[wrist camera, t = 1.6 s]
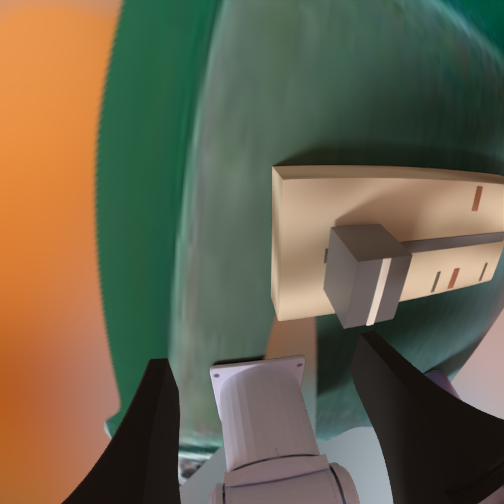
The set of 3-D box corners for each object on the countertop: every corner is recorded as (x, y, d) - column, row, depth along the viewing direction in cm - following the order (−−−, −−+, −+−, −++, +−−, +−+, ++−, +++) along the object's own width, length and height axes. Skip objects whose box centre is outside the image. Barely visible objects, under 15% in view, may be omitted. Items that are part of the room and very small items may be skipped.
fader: (367, 282, 18) (393, 320, 15) (323, 289, 18) (344, 330, 15) (379, 223, 16) (413, 255, 13) (330, 226, 16) (359, 262, 13)
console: (475, 265, 23) (491, 280, 21) (270, 296, 21) (278, 322, 19) (500, 175, 19) (521, 186, 16) (272, 166, 16) (283, 180, 14)
